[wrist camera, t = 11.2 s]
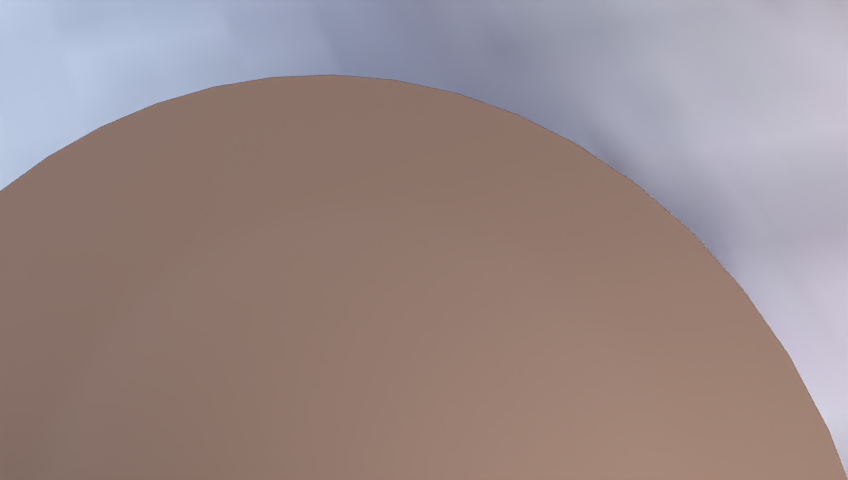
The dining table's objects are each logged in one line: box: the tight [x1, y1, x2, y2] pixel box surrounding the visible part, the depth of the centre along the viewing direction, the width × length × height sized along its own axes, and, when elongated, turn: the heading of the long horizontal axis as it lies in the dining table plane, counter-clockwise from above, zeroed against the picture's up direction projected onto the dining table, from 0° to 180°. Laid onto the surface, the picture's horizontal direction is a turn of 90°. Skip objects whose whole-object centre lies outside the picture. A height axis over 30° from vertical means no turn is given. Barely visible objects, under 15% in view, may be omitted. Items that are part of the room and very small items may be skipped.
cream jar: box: [0, 75, 848, 480], centre depth 10 cm, size 7×7×13 cm
